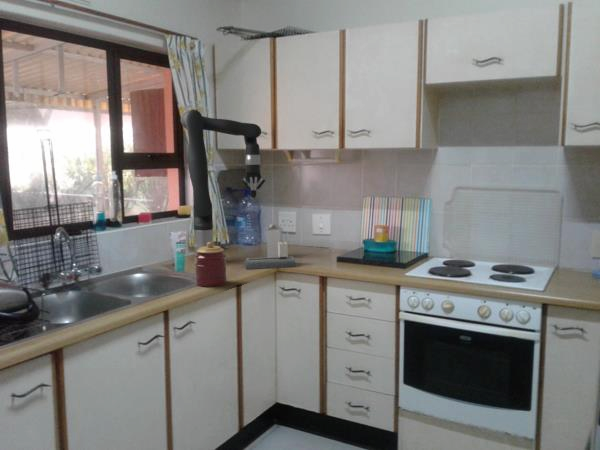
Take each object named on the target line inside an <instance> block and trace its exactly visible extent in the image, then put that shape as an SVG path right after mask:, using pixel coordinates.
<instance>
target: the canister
mask: <svg viewBox="0 0 600 450" xmlns="http://www.w3.org/2000/svg"><path fill="white" fill-rule="evenodd" d="M224 251H225V249H224V248H222V247H221V246H219V245H214V242H213V243H212V242H208V243H207V246H203V247H200V248H199V249H198V250H197V252H198V253H197V255H195V254H194V259H195V258H196V263H195V262H194V266H195V271H194V272H195V278H194V279H195V280H194V281H195V284H196V285H197V286H200V287H208V288H209V287H219V286H224V285H225V284H226V283H227V279H228V278H227V262H226V257H227V255H226V253H224Z"/></svg>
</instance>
